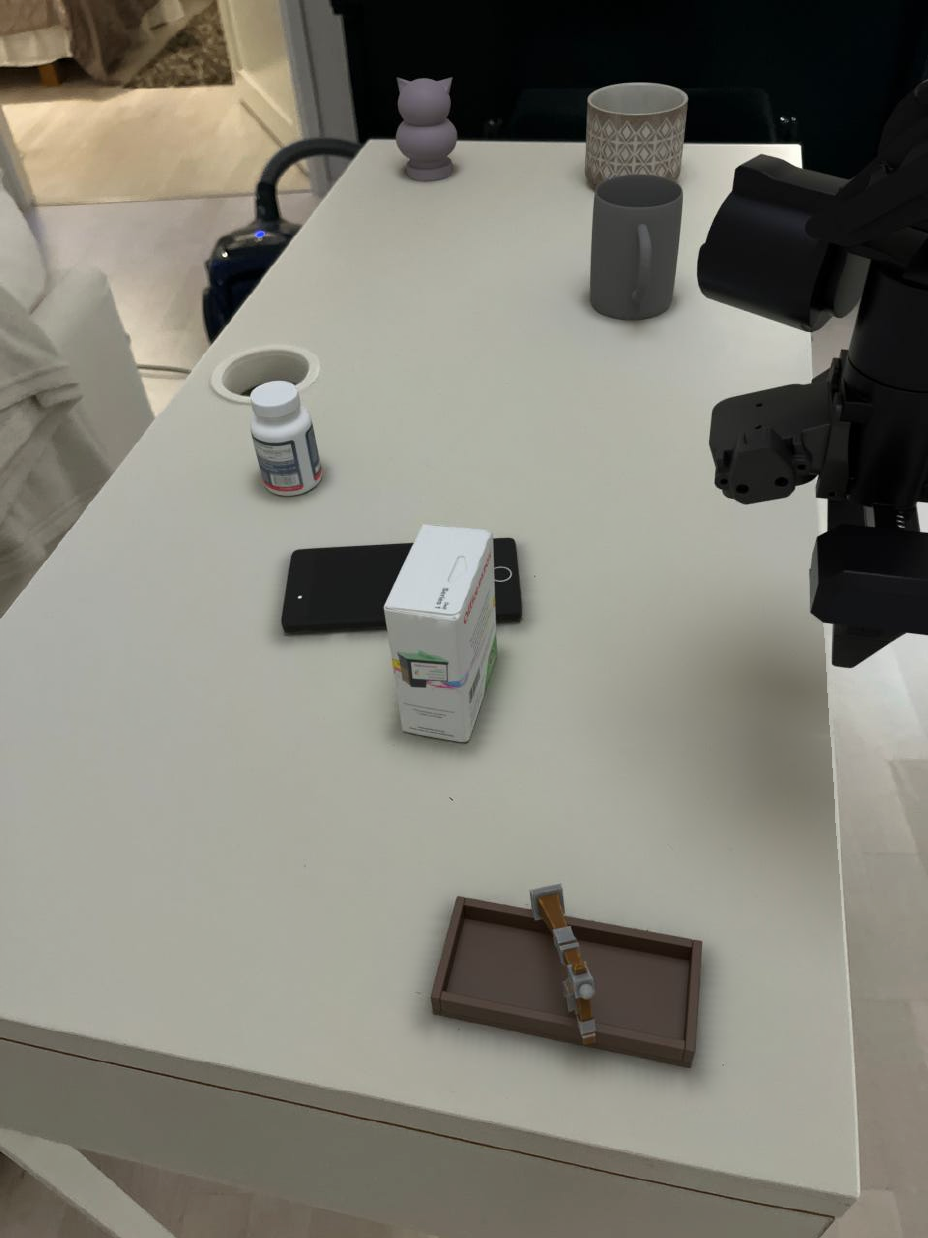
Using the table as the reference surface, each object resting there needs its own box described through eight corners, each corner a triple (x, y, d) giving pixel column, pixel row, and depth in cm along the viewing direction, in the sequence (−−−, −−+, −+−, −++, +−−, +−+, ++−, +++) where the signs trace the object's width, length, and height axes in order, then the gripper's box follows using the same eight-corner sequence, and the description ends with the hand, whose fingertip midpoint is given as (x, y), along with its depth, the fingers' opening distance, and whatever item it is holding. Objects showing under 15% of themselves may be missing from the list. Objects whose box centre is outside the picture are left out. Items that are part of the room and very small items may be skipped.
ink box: (434, 643, 72) (421, 517, 64) (499, 654, 71) (495, 526, 63) (398, 732, 66) (379, 606, 58) (469, 745, 65) (460, 618, 57)
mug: (586, 283, 112) (590, 175, 103) (667, 280, 111) (678, 171, 103) (595, 343, 102) (600, 229, 94) (684, 340, 102) (697, 225, 93)
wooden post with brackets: (576, 1061, 47) (568, 986, 46) (537, 954, 55) (528, 886, 53) (612, 1053, 48) (605, 978, 46) (568, 947, 55) (561, 879, 53)
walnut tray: (698, 958, 54) (702, 940, 52) (690, 1068, 50) (695, 1052, 48) (458, 913, 57) (456, 895, 55) (432, 1014, 52) (430, 997, 51)
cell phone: (523, 622, 73) (523, 612, 72) (281, 635, 73) (279, 626, 73) (515, 545, 79) (515, 536, 79) (293, 557, 80) (291, 548, 79)
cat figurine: (392, 181, 137) (383, 87, 128) (407, 161, 142) (399, 69, 134) (452, 184, 135) (446, 88, 127) (464, 162, 140) (460, 70, 132)
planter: (578, 167, 137) (580, 85, 130) (668, 160, 137) (676, 78, 130) (592, 202, 128) (595, 117, 121) (688, 195, 128) (698, 110, 121)
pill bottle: (298, 455, 90) (281, 369, 84) (334, 477, 87) (319, 390, 81) (251, 481, 88) (230, 394, 82) (286, 505, 85) (267, 417, 79)
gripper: (739, 260, 53) (703, 493, 64) (723, 461, 40) (682, 710, 51) (960, 272, 51) (885, 511, 62) (1019, 488, 38) (910, 742, 49)
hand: (838, 606), depth 56 cm, fingers open, 9 cm apart
